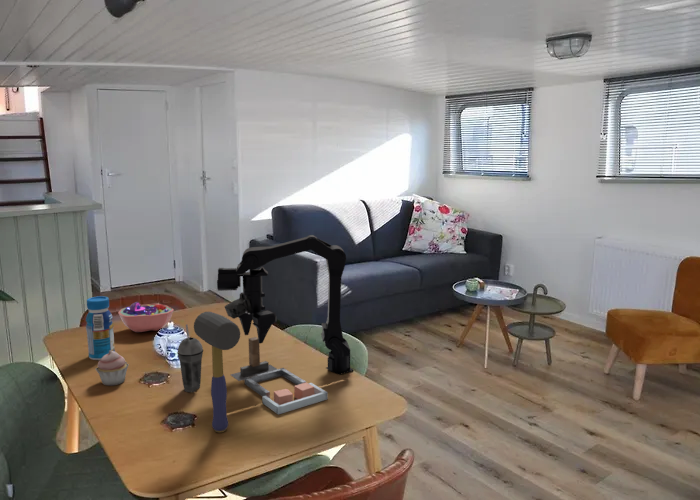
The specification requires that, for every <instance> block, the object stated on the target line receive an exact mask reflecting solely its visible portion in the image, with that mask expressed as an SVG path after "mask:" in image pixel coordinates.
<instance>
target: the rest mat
mask: <svg viewBox="0 0 700 500" xmlns="http://www.w3.org/2000/svg"><path fill="white" fill-rule="evenodd" d="M277 369H278V368H277V367H275V366H273V365H271V364H269V370H267V371H263V372H259V373H255V374H251V375H248V376H244V377H242V376H241V373H240V371H238V372H235V373H230V376H231V377H233V378H234V379H235V380H237V381H238V382H241V381H245V379H244V378H246V377H250V376H254V375H257V374H261V373H265V372H269V371H273V370H277Z"/></svg>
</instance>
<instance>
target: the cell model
mask: <svg viewBox="0 0 700 500" xmlns="http://www.w3.org/2000/svg"><path fill="white" fill-rule="evenodd" d="M173 313H174V308H172V307H170V306H168V305H166V304H160V303H149V304H141V303H140V302H139V301H135V302H133V303H132V304H130V305H129V306H127V307H123V308H121V309H120V310H118V315H119V317H120V319H121V321H122V323H123V325H124V326H125V327H127V328H128V329H129V330H131V331H133V332H135V333H142V332H149V331H154V332H155V331H160V330H162V329H163V328H164V327H165V326H167V324H168V323H169V322H170V320H171V319H172V316H173ZM161 328H162V329H161ZM159 329H160V330H159Z"/></svg>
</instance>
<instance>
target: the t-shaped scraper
mask: <svg viewBox="0 0 700 500" xmlns="http://www.w3.org/2000/svg"><path fill="white" fill-rule="evenodd" d="M260 349H261V348H260V343H259V341H258V336H254V337H248V365H245V366H241V367H240V368H239V369H240V370H239V372H240V373H241V376H242V377H244V376H248V375H251V374H255V373H259V372H263V371H267V370H269V365H270V364H269V362H268V361H266V360H264V361H261V359H260V358H261V354H260V352H261V351H260Z"/></svg>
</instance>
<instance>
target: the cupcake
mask: <svg viewBox="0 0 700 500" xmlns="http://www.w3.org/2000/svg"><path fill="white" fill-rule="evenodd" d="M129 365H130V364H129V363H128V362H127V361H126V360H125V358H124V357H123V356H122V355H120V354H119V353H118V352H117V351H116V350H115V351H111V350H110V351H109V354H106V355H104V356H103V357H102V359H101V360H98V363H97V367H96V368H95V371H96V372H97V374H98V375H99V378H100V380H101V382H102V383H101V384H103V385H104V386H109V387H110V386H116V385H117V386H118V385H121V384H123V383H124V382H125V380H126V375H127V370H128V368H129Z"/></svg>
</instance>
